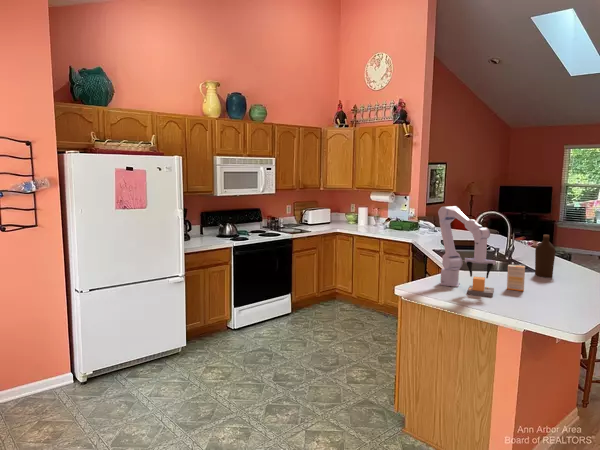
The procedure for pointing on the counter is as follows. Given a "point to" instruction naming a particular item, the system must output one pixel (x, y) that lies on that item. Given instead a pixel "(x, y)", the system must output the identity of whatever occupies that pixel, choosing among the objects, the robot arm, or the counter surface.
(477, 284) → the cap
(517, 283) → the supplement box
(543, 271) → the olive oil
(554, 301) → the counter surface
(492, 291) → the breaker panel
